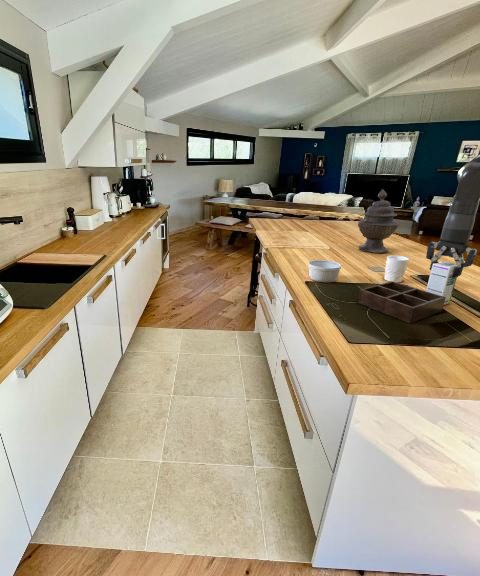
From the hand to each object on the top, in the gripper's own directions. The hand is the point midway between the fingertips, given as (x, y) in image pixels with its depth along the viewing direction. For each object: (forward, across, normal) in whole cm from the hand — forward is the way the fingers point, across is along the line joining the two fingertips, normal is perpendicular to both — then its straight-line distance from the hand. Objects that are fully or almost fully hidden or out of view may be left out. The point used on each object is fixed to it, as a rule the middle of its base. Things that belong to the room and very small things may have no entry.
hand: (443, 274), depth 110 cm
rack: (+11, +4, +16) cm, 20 cm away
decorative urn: (+11, +59, -50) cm, 78 cm away
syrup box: (+11, 0, 0) cm, 11 cm away
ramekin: (+11, +38, +15) cm, 42 cm away
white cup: (+11, +22, -10) cm, 27 cm away
